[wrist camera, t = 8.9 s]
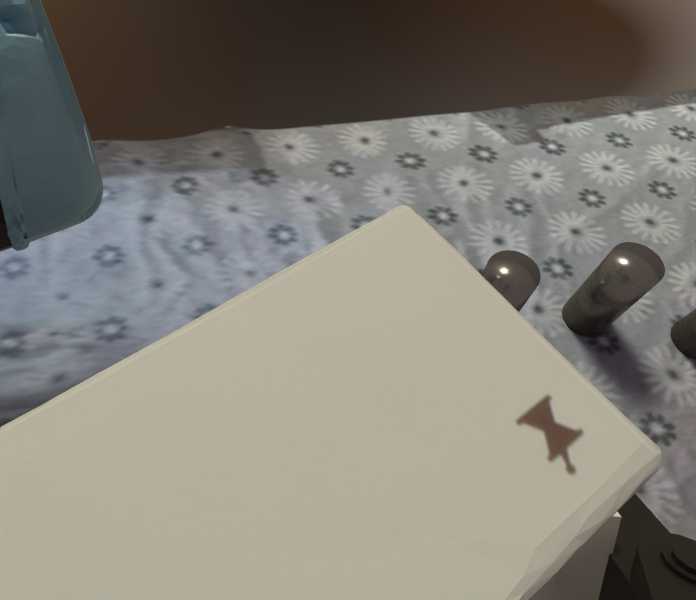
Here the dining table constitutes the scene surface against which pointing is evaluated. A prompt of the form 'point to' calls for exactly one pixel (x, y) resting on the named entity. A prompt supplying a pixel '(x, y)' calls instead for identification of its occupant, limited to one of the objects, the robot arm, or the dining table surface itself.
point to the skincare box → (322, 446)
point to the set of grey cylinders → (593, 290)
